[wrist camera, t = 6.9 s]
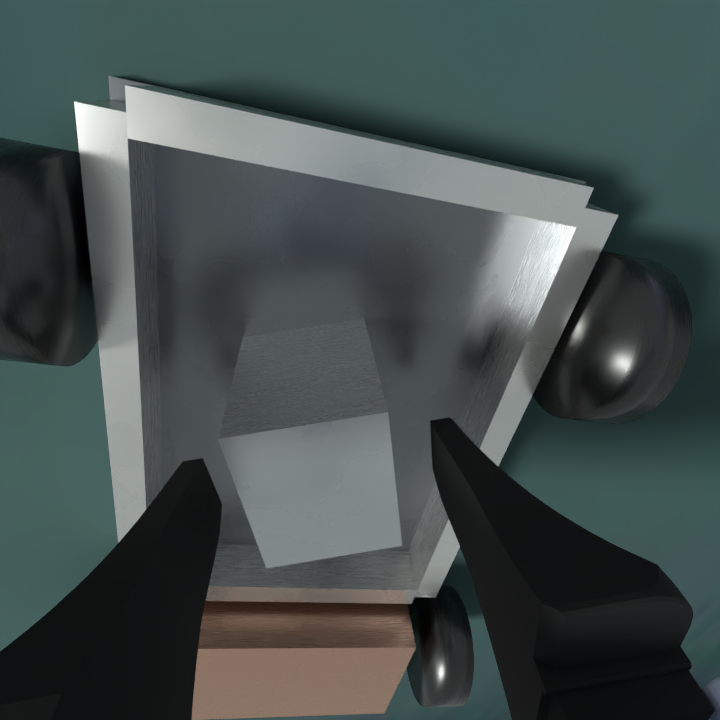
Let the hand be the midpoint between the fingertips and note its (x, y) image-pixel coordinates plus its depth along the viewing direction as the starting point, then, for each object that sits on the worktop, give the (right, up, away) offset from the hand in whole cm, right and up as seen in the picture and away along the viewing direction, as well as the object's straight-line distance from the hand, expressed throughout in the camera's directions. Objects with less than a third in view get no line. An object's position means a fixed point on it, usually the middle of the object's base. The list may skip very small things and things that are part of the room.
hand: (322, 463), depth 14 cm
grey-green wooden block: (0, +2, +2) cm, 3 cm away
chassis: (-1, -1, +4) cm, 5 cm away
